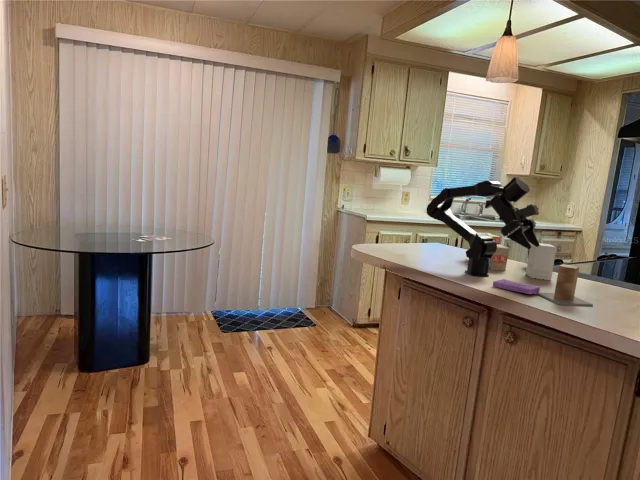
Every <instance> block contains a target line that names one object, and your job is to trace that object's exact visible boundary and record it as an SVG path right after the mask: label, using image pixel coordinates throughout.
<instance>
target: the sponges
mask: <svg viewBox="0 0 640 480" xmlns="http://www.w3.org/2000/svg"><path fill="white" fill-rule="evenodd" d="M492 287H495V288H498V289H504V290H508V291H513V292H517V293H522V294H528V295H533V294H536V293H538V292H540V293H541V290H540V289H541V287H540V286H536V285H531V284H527V283H522V282H518V281H515V280H514V281H513V280H511V279H510V280H508V279H505V278H501V279H498V280H494V281H493V282H492Z"/></svg>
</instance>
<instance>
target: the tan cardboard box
mask: <svg viewBox="0 0 640 480" xmlns="http://www.w3.org/2000/svg"><path fill="white" fill-rule="evenodd" d="M475 232H476V233H481V232H477V231H475ZM486 233H487V234H488V235H489V236H490V237H492V238H494V241H495V242H496V243H497V250H496V252H495V253H494V254H493V256H492V258H488V259H489V261H488V263H489V269H488V270H491V271H492V270H493V271H504V272H505V271H506V269H507V264H508V257H509V253H510V247H508V246H505V245H502V244H500V243H501V236H498V235H496V234H492V233H490V232H486Z"/></svg>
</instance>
